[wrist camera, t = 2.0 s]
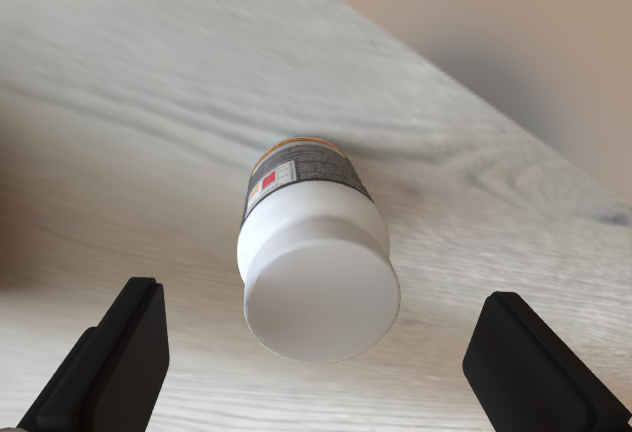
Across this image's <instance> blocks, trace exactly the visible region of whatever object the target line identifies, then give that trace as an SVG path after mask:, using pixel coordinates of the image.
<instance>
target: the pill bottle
mask: <svg viewBox="0 0 632 432" xmlns="http://www.w3.org/2000/svg"><path fill="white" fill-rule="evenodd" d="M389 255H390V239H389V233H388V229H387V225H386V223H385V220H384V219H383V216H382V214H381V212H380V211H379V209H378V207H377V206H376V204H375V202H374V201H373V199H372V197H371V195H370V194H369V192H368V190H367V189H366V187H365V186H364V184H363V182H362V181H361V179H360V177H359V176H358V173H357V172H356V170H355V168H354V167H353V165H352V164H351V162H350V161H349V160H348V158H347V157H346V156H345V154H344V153H343V152H342V151H341V150H340V149H338V148H337V147H336V146H334V145H333V144H331V143H329V142H327V141H325V140H322V139H319V138H315V137H307V136H303V137H293V138H289V139H285V140H283V141H281V142H279V143H277V144H275V145H273V146H272V147H270V148H269V149H268V150H267V151H266V152H265V153H264V154H263V155H262V156H261V157H260V159H259V160H258V162H257V163H256V165H255V167H254V169H253V171H252V174H251V178H250V181H249V186H248V192H247V197H246V202H245V208H244V213H243V218H242V223H241V227H240V233H239V239H238V247H237V259H238V266H239V271H240V274H241V276H242V279H243V281H244V283H245V291H244V314H245V319H246V322H247V324H248V327H249V329H250V331H251V332H252V334H253V335H254V337H255V338H256V339H257V340H258V341H259V342H260V343H261V344H262V345H263V346H264V347H265V348H266V349H268V350H269V351H270V352H272V353H274V354H276V355H278V356H280V357H282V358H284V359H287V360H290V361H295V362H299V363H305V364H327V363H333V362H338V361H342V360H346V359H349V358H351V357H354V356H356V355H359V354H361V353H363V352H365V351H366V350H368V349H369V348H371V347H372V346H373V345H375V344H376V343H377V342H378V341H379V340H380V339H381V338H383V336H384V335H385V334H386V333H387V332H388V330H389V329H390V328H391V326H392V325H393V323H394V321H395V319H396V317H397V314H398V311H399V307H400V298H401V293H400V285H399V282H398V278H397V275H396V273H395V271H394V268H393V266H392V264H391V261H390V259H389Z"/></svg>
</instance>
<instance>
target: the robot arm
mask: <svg viewBox="0 0 632 432" xmlns="http://www.w3.org/2000/svg"><path fill="white" fill-rule="evenodd" d="M168 366H169V346H168V335H167V323H166V312H165V301H164V290H163V285H162V284H161V283H156V280H155V278H147V277H131V278H130V279H129V280H128V282H127V283H126V285H125V286H124V288H123V289H122V291H121V292H120V294H119V295H118V297H117V298H116V300H115V301H114V302H113V304H112V305H111V307H110V308H109V310H108V311H107V313H106V314H105V316H104V317H103V319H102V320H101V322H100V323H99V325H98V326H97V327H90V328H88V329H87V330H86V331H85V332H84V333H83V334H82V336H81V337H80V338H79V340H78V341H77V343H76V344H75V345H74V347H73V348H72V350H71V351H70V352H69V354H68V355H67V357H66V358H65V359H64V361H63V362H62V364H61V365H60V366H59V368H58V369H57V371H56V372H55V373H54V375H53V376H52V378H51V379H50V380H49V382H48V383H47V385H46V386H45V387H44V389H43V390H42V392H41V393H40V394H39V396H38V397H37V399H36V400H35V401H34V403H33V404H32V406H31V407H30V408H29V410H28V411H27V413H26V414H25V415H24V417H23V418H22V420H21V421H20V423H19V424H18V425H17V427H16V428H10V427H8V428H3V429H0V432H145V431H146V428H147V425H148V422H149V420H150V417H151V414H152V411H153V409H154V406H155V403H156V401H157V398H158V395H159V392H160V390H161V387H162V384H163V382H164V379H165V376H166V373H167V370H168ZM462 367H463V372H464V375H465V377H466V378H467V380H468V382H469V384H470V386H471V387H472V389H473V391H474V393H475V395H476V397H477V398H478V400H479V402H480V404H481V406H482V407H483V409H484V411H485V413H486V415H487V416H488V418H489V420H490V422H491V424H492V426H493V427H494V429H495V431H496V432H632V427H631V426H630V425H629V424H628V421H629V420H630V418H631V417H632V414H631V412H630V411H629V410H628V409H627V408H626V407H625V406H624V405H623V404H622V403H621V402H620V401H619V400H618V399H617V398H616V397H615V396H614V395H613V394H612V393H611V391H610V390H609V389H608V388H607V387H606V386H605V385H604V384H603V383H602V382H601V381H600V380H599V379H598V378H597V377H596V376H595V375H594V374H593V373H592V371H591V370H590V369H589V368H588V367H587V366H586V365H585V364H584V363H583V362H582V361H581V360H580V359H579V358H578V357H577V356H576V355H575V354H574V353H573V352H572V350H571V349H570V348H569V347H568V346H567V345H566V344H565V343H564V342H563V341H562V340H561V339H560V338H559V337H558V336H557V335H556V334H555V333H554V332H553V331H552V329H551V328H550V327H549V326H548V325H547V324H546V323H545V322H544V321H543V320H542V319H541V318H540V317H539V316H538V315H537V314H536V313H535V312H534V311H533V310H532V308H531V307H530V306H529V305H528V304H527V303H526V302H525V301H524V300H523V299H522V298H521V297H520V296H519V295H518V294H517V293H515V292H499V291H496V292H493V293H492V294H491V296H488V297H487V298H486V300H485V303H484V306H483V308H482V311H481V314H480V316H479V319H478V322H477V324H476V327H475V330H474V333H473V335H472V338H471V341H470V343H469V346H468V349H467V351H466V354H465V357H464V360H463V364H462Z"/></svg>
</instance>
